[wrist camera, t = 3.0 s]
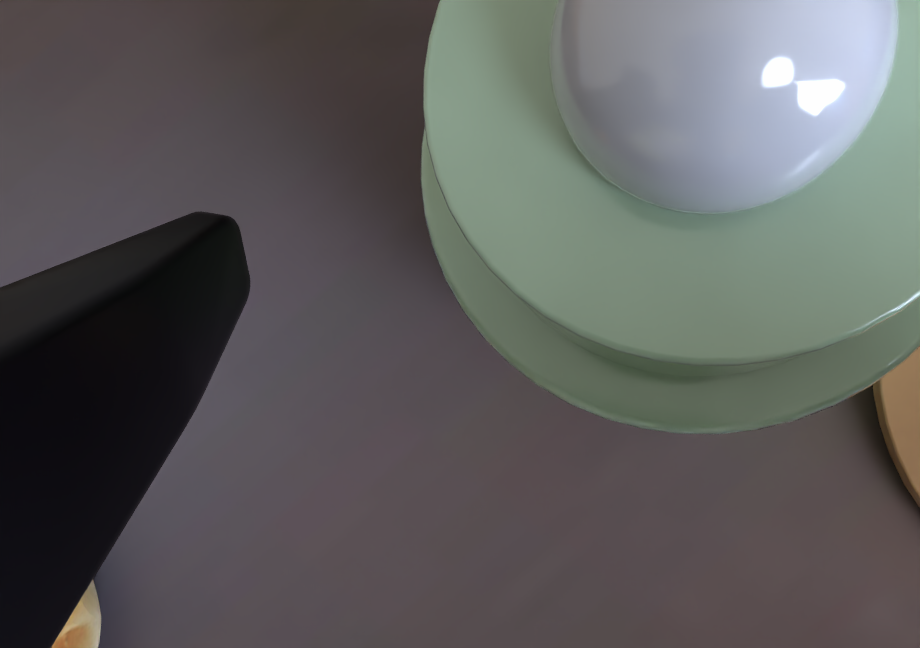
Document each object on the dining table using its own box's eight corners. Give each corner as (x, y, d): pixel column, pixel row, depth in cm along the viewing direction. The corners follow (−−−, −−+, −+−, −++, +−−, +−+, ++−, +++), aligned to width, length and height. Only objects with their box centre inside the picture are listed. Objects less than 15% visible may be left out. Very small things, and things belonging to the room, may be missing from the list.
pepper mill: (856, 328, 16) (1592, 31, 4) (629, 475, 17) (604, 644, 4) (695, 120, 17) (846, -652, 5) (487, 265, 18) (137, -87, 5)
